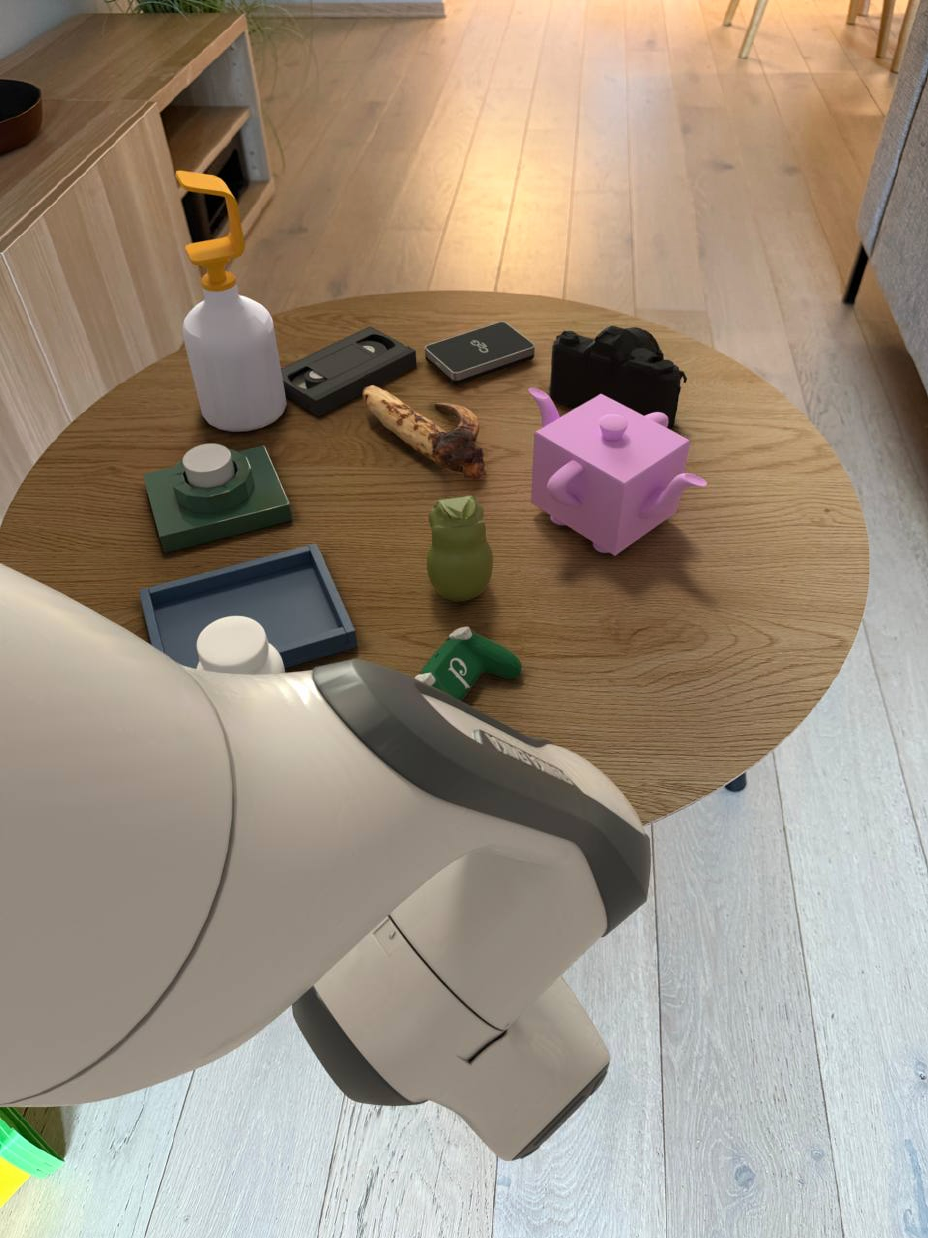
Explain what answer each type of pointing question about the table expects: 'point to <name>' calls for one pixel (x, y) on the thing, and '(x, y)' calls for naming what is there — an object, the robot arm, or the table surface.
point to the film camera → (615, 371)
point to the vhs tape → (345, 370)
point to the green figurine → (459, 549)
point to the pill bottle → (237, 648)
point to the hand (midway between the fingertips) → (279, 737)
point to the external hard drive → (479, 352)
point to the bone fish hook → (431, 432)
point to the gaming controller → (467, 663)
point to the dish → (254, 607)
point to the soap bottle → (230, 331)
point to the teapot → (608, 470)
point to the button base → (217, 502)
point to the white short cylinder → (208, 466)
